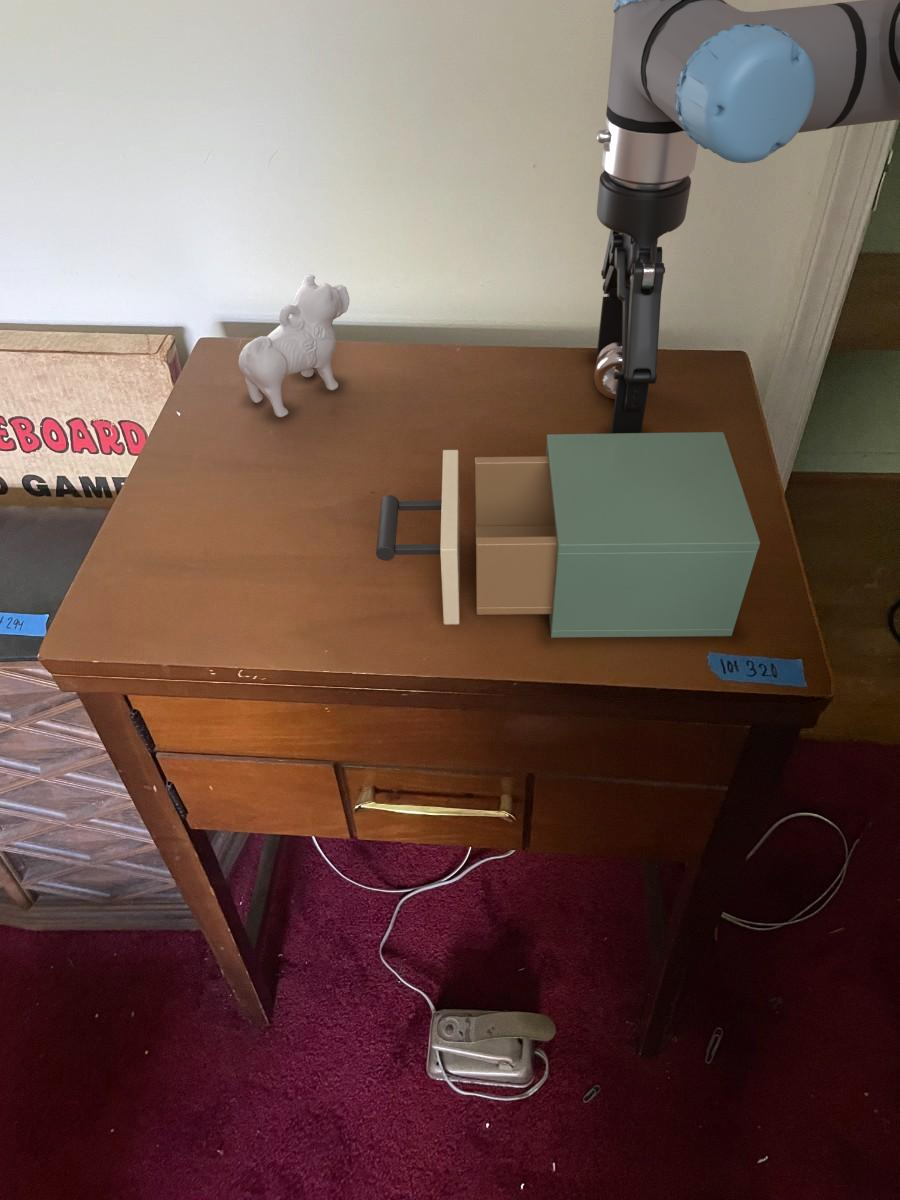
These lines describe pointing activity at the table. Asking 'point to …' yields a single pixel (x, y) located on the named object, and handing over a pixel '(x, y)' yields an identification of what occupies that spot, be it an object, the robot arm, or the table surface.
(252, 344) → the dog figurine
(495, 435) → the table surface
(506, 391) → the table surface
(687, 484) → the cabinet
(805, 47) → the robot arm
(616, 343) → the metal grooved wheel
